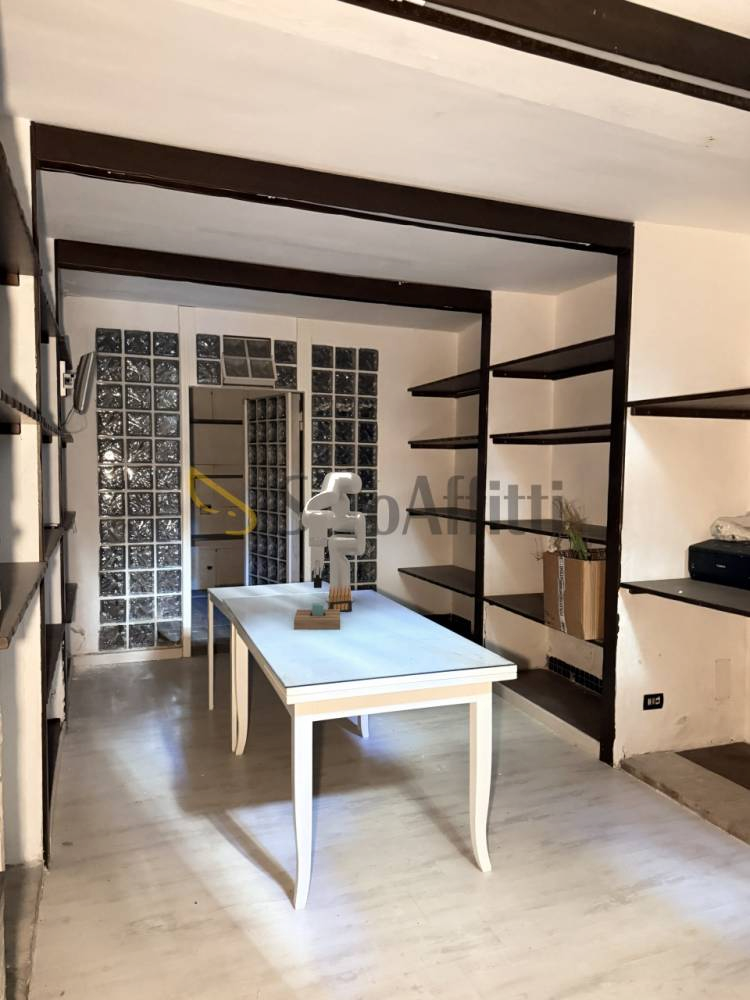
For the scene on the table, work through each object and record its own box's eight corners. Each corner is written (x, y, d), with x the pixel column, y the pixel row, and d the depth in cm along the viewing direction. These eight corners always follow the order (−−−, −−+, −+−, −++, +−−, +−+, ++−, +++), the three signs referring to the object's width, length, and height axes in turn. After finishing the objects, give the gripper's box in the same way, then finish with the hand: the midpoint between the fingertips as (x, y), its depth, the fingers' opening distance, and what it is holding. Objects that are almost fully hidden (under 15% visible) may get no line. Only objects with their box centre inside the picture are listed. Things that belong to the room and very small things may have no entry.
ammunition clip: (350, 610, 298) (350, 584, 297) (352, 611, 296) (352, 584, 296) (327, 613, 294) (327, 585, 293) (329, 613, 292) (329, 586, 291)
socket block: (296, 618, 282) (296, 609, 282) (340, 618, 283) (340, 609, 283) (294, 629, 264) (294, 619, 264) (339, 629, 265) (340, 619, 265)
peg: (312, 622, 276) (312, 603, 275) (323, 622, 276) (323, 603, 276) (312, 625, 271) (312, 605, 271) (323, 625, 272) (323, 605, 271)
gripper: (309, 540, 279) (309, 584, 280) (307, 544, 264) (307, 591, 265) (327, 540, 279) (327, 584, 280) (327, 544, 264) (326, 591, 265)
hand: (317, 587), depth 273 cm, fingers closed
